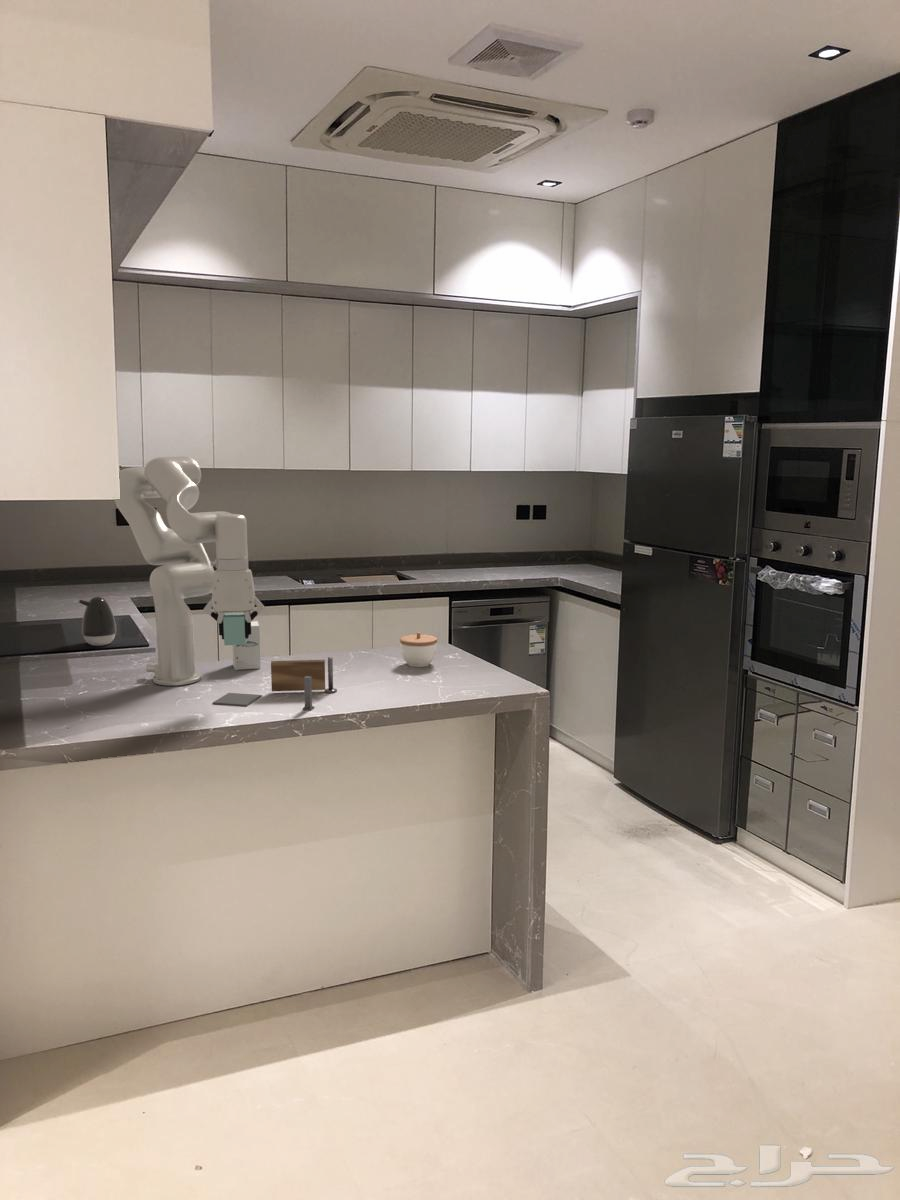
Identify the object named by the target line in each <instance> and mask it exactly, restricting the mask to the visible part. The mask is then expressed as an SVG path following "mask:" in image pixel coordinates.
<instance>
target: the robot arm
mask: <svg viewBox="0 0 900 1200" xmlns="http://www.w3.org/2000/svg"><path fill="white" fill-rule="evenodd" d="M118 471H119V479H120V499H114V498H113V500H114V503H115V504H116V507H117V509H118V511H119V512H120V513H121V515H122V516H123V517H124V519H125V520H126V522H127V523H128V524H129V527H130V528H131V531H132V534H133V536H134V538H135V541H136V544H137V546H138V548H139V549H140V552H141V555H142V556H143V558H144V560H145V561H146V562H147V564H149V565H152V566H157V567H155V569H153V571H152V572H151V574H150V576H149V585H150V586H149V587H150V591H151V594H152V599H153V604H154V611H155V627H156V631H155V632H156V644H157V645H156V646H157V647H156V648H157V663H152V662H151V663H150V662H148V663H146V668H145V670H146V672H149V673H154V675H153V677H152V681H153V683H154V684H156V685H161V686H169V687H171V686H174V687H175V686H185V685H190V684H194V683H198V681H201V679H202V674H201V672H199V671H198V670H197V671H196V657H195V655H196V654H195V639H194V638H195V637H194V635H195V634H194V618H193V614H192V613H193V612H192V610H191V609H190V607H189V606H188V605H187V603H186V602H185V600H184V599H189V598H195V597H196V598H197V597H203V596H207V595H209V594H211V599H210V600H209V601H208V602H207V604H206V605H205V606H204V607H203V611H204V612H205V613H206V614H208V615H209V616H210V617H212V618H213V619H214V620H215V621H216V623H218V635H219V636H221V640H224V625H223V617H224V615H225V613H244V615H245V618H246V620H245V638H246V639H248V637H249V635H251V622H252V621H253V620H254V619H255V618H256V617H257V616H258V615H259V614H260V613H262V612H263V611H265V607H266V606H265V605H264V604H263V602H261V601H260V599H258V597H257V596H256V593H255V590H256V589H255V584H254V576H253V572H252V570H251V569H249V554H248V553H249V551H248V545H249V544H248V527H247V526H248V525H247V522H248V521H247V518H246V517H245V515H243V514H238V513H231V512H228V511H223V510H222V511H221V510H219V511H205V512H204V511H203V512H202V511H201V512H189V510H190V509H192V508H193V507H194V506H195V505H196V503H197V502H198V500H199V498H200V490H199V487H198V485H199V484H200V482H201V480H202V471H201V467H200V465H199V464H198V462H197V461H196V460H195V459H194V458H192V457H190V456H160V457H155V458H153V459H150V460H149V461H148V462H147V463H146V464H145V466H133V467H127V468H123V469H120V470H118ZM158 498H162V499H163V500H164V501H165V502H166V503H167V504H166V510H165V511H166V519H167V522H168V525H169V527H170V528H169V527H167V525H166V524H165V522H164V520H163V517H162V516H161V514H160V512H159V511H158V510H157V509H156V508H155V507H153V505H152V504H150V503H148V502H147V501H145V500H144V499H158ZM205 543H215V553H216V554H215V557H216V558H215V559H214V560H210V558H209V555H208V553H207V552H206V549H205V546H204V545H203V544H205ZM214 567H215V568H216V570H214ZM255 607H256V609H254V608H255ZM252 610H253V611H252ZM251 611H252V612H251Z"/></svg>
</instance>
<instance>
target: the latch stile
mask: <svg viewBox="0 0 900 1200" xmlns="http://www.w3.org/2000/svg"><path fill="white" fill-rule="evenodd" d="M303 695H304V707H302V711H312V710H313V709H315V706H314V705H313V690H312V676H306V677H304V694H303Z"/></svg>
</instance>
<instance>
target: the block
mask: <svg viewBox="0 0 900 1200" xmlns="http://www.w3.org/2000/svg"><path fill="white" fill-rule="evenodd" d="M245 620H246V618H245V615H244V612H225V614H224V617H223V625H224V639H223V642H224V646H233V645H245V644H246V641H247V639H246V638H245Z"/></svg>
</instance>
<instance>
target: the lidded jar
mask: <svg viewBox="0 0 900 1200" xmlns="http://www.w3.org/2000/svg"><path fill="white" fill-rule="evenodd" d="M399 643H400V644H399V645H400V654H401V656H402V658H403V661H405V663H407V665H408V666H409V667H413V668H424V667H428V666H429V665H430V664H431V663H432V662H433V660H434V659H435V657H436V655H437V648H438V647H437V645H438V638H437V637H436V636H433V635H430V634H429V635H428V634H421V632H416V634H408V635H404V636H401V637H400V638H399Z"/></svg>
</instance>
